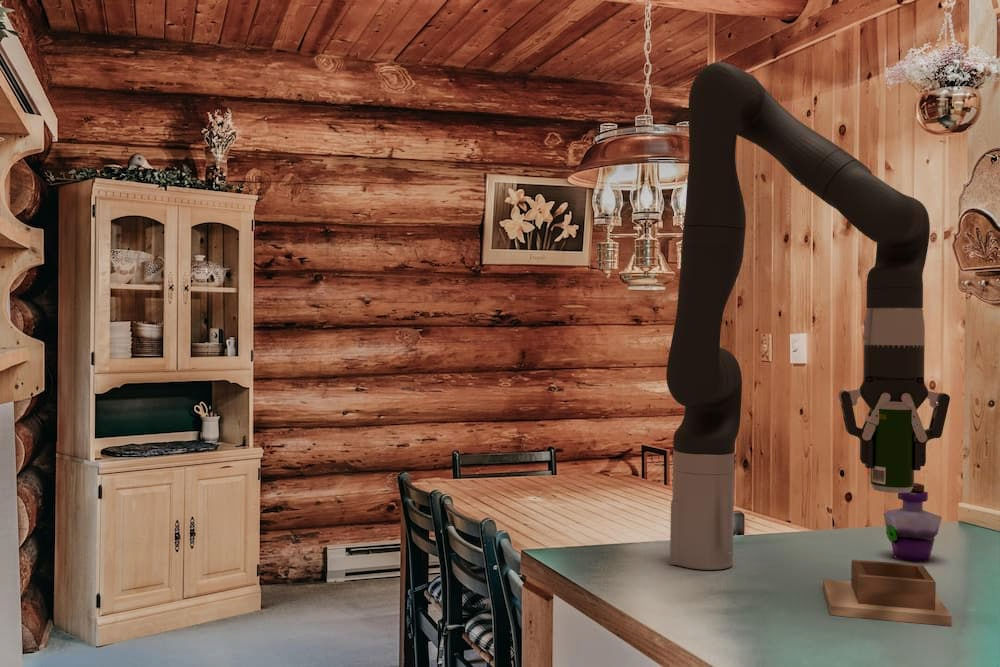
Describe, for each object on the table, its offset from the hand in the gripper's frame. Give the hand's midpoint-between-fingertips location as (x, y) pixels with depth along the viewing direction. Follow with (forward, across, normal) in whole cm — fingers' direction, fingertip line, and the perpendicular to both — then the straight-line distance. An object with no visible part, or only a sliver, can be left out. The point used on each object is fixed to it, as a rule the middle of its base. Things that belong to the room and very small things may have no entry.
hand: (892, 468), depth 125 cm
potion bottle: (+18, +7, +26) cm, 32 cm away
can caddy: (+18, 0, -3) cm, 18 cm away
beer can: (+3, 0, 0) cm, 3 cm away
